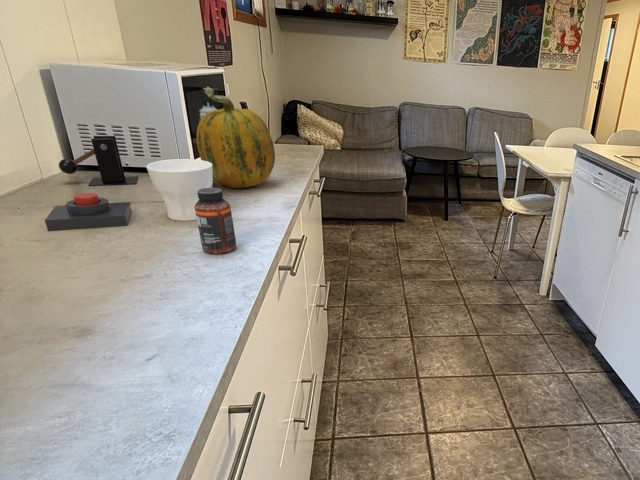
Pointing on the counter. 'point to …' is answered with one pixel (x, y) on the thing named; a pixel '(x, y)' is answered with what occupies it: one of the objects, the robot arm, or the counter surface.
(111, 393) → the counter surface
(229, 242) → the supplement bottle
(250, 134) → the pumpkin
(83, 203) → the push button
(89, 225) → the switch box
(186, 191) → the cup
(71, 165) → the switch lever
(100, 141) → the lever bracket
